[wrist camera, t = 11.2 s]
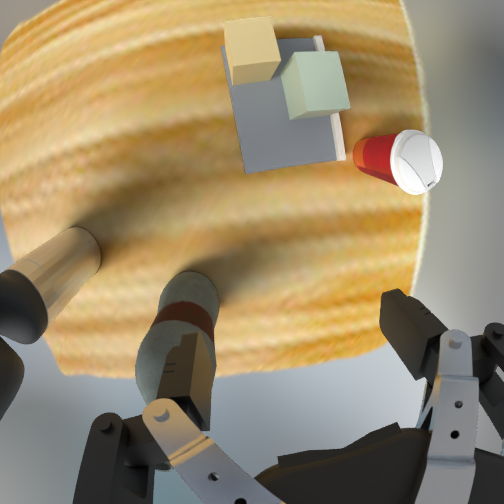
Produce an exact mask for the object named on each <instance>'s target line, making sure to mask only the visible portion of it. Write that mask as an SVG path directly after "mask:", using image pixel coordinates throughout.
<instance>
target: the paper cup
mask: <svg viewBox="0 0 504 504" xmlns="http://www.w3.org/2000/svg"><path fill="white" fill-rule="evenodd" d="M353 160H354V163H355V165H356V166H357V168H358V169H359V170H361V171H362V172H364V173H366V174H369V175H371V176H374V177H376V178H379V179H382V180H384V181H387V182H389V183H392V184H394V185H397V186H399V187H400V188H402V189H403V190H404V191H405V192H407V193H410V194H414V195H418V194H422V193H424V192H427V191H428V190H430V189H431V188H432V187H433V186H435V184H436V183H438V181H439V180H440V177H441V173H442V166H443V162H442V156H441V152H440V150H439V147H438V146H437V144H436V143H435V141H434V140H433V139H432V138H430V137H429V136H427V135H426V134H425V133H423V132H421V131H419V130H404V131H402V132H401V133H400V134H392V135H384V136H377V137H371V138H366V139H362V140H360V141H359V142H358V143H357V144H356V145H355V147H354V150H353Z"/></svg>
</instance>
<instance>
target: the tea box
mask: <svg viewBox="0 0 504 504" xmlns="http://www.w3.org/2000/svg"><path fill="white" fill-rule="evenodd" d="M280 74H281V79H282V84H283V88H284V93H285V98H286V103H287V108H288V113H289V118H290V120H294V119H303V118H314V117H325V116H328V115H331V114H334V113H338V112H341V111H344V110H348V109H351V108H350V103H349V98H348V93H347V88H346V83H345V79H344V74H343V70H342V66H341V62H340V58H339V54H338V52H334V51H313V52H294V54H293V55H292V57H291V58H290V59H289V61H288V62H287V64H286V65H285V67H284V68H283V70H282V71H281V73H280Z"/></svg>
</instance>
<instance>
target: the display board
mask: <svg viewBox="0 0 504 504" xmlns="http://www.w3.org/2000/svg"><path fill="white" fill-rule="evenodd" d="M276 41H277V45H278V49H279V53H280V58H281V62H280V63H279V65H278V67H277V69H276V70H275V72H274V74H273V76H272V77H271V79H270V80H269V81H261V82H254V83H247V84H240V85H234V86H233V85H232V80H231V75H230V70H229V65H228V60H227V55H226V50H225V46H221V51H222V56H223V61H224V66H225V71H226V76H227V81H228V86H229V92H230V97H231V102H232V107H233V112H234V117H235V122H236V127H237V133H238V138H239V143H240V148H241V154H242V159H243V164H244V169H245V174H249V173H255V172H261V171H266V170H272V169H278V168H285V167H291V166H298V165H305V164H312V163H319V162H327V161H336V160H338V161H342V160H346V156H345V148H344V142H343V135H342V129H341V123H340V117H339V112H338V113H334V114H331V115H328V116H325V117H314V118H303V119H294V120H290V118H289V113H288V108H287V103H286V98H285V93H284V88H283V84H282V79H281V74H280V73H281V71H282V70H283V68H284V67H285V65H286V64H287V62H288V61H289V59H290V58H291V57H292V55H293V54H294V52H313V51H325V48H324V44H323V40H322V37H321V36H314V37H313V38H291V39H276Z"/></svg>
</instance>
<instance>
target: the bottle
mask: <svg viewBox="0 0 504 504" xmlns="http://www.w3.org/2000/svg"><path fill="white" fill-rule="evenodd" d="M218 313H219V301H218V295H217V291H216V289H215V287H214V285H213V283H212V281H211V280H209V279H208V278H207V277H206V276H205V275H203V274H201V273H199V272H193V271H188V272H183V273H180V274H178V275H176V276H175V277H174V278H172V279H171V280H170V281H169V282H168V284H167V285H166V287H165V288H164V289H163V292H162V294H161V296H160V301H159V306H158V313H157V316H156V318H155V320H154V322H153V324H152V326H151V327H150V329H149V331H148V333H147V334H146V336H145V338H144V339H143V341H142V343H141V345H140V348H139V350H138V355H137V360H136V365H135V376H136V384H137V386H138V388H139V390H140V392H141V395H142V397H143V399H144V401H145V403H146V405H148V404H149V403H151V402H152V401H155V400H156V397H157V392H158V388H159V384H160V380H161V376H162V373H163V368H164V366H165V360H166V356H167V354H168V353H169V351H170V350H171V349H172V348H173V347H175V346H180V342H181V338H182V335H183V334H185V333H192V332H199V331H200V332H201V334H202V336H203V339H204V342H205V344H206V347H207V350H208V352H209V355H210V358H211V362H212V370H213V371H212V385H213V381H214V376H215V371H216V366H217V365H216V357H215V344H214V328H215V325H216V321H217V317H218ZM173 469H174V468H173V466H172V465H171V464H170V462H169V461H166V462H163V463H159V464H155V470H158V471H163V472H169V471H172V470H173Z"/></svg>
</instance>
